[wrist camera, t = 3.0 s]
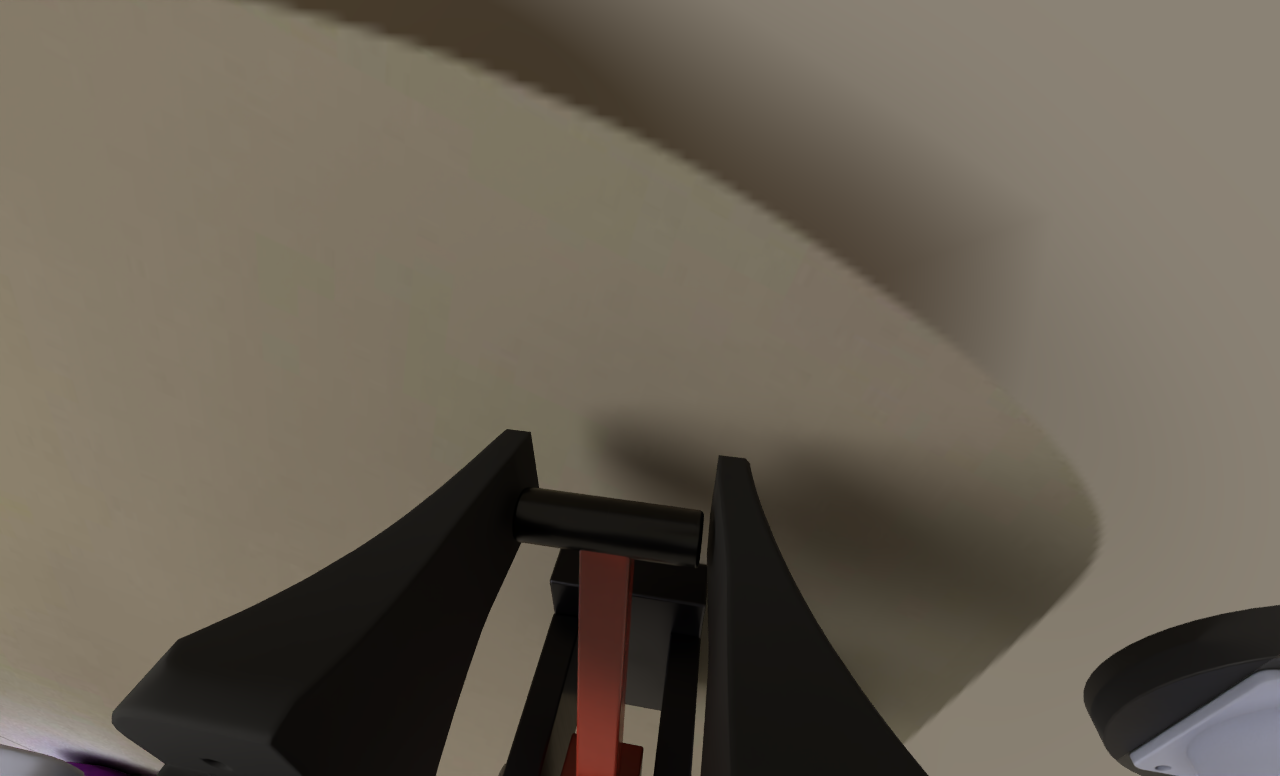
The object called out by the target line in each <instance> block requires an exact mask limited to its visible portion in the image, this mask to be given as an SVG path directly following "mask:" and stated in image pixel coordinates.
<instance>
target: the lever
mask: <svg viewBox="0 0 1280 776" xmlns="http://www.w3.org/2000/svg"><path fill="white" fill-rule="evenodd" d="M703 523H704V514H703V512H702V511H701V510H695V509H687V508H680V507H673V506H666V505H658V504H651V503H644V502H636V501H629V500H622V499H614V498H607V497H600V496H593V495H585V494H578V493H571V492H563V491H556V490H549V489H541V488H534V487H527V488H524V489H523V490H522V491H521V493H520V495H519V497H518V499H517V502H516V505H515V508H514V513H513V520H512V533H513V537H514V539H515V540H516V541H518V542H522V543H529V544H535V545H542V546H549V547H555V548H562V549H569V550H575V551H579V614H578V679H577V734H575V733H573V734H572V736H571V740H570V743H569V747H568V750H567V754H566V757H565V761H564V765H563V768H562V772H561V775H560V776H641V772H642V760H643V747H642V746H637V745H631V744H626V743H623V728H624V713H625V697H626V682H627V666H628V651H629V635H630V620H631V605H632V589H633V574H634V559H635V560H641V561H648V562H655V563H661V564H668V565H675V566H681V567H688V568H697V567H698V565H699V561H700V553H701V544H702V534H703Z"/></svg>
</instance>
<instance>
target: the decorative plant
mask: <svg viewBox="0 0 1280 776" xmlns="http://www.w3.org/2000/svg"><path fill="white" fill-rule="evenodd" d="M67 763H69V764H71V765H73V766H75V767H77V768H78V769H80V770H81V771H83V772H84V775H85V776H131V775H128V774H126V773H123V772H121V771H118V770H115V769H112V768H108V767H104V766H98V765H90V764H82V763H74V762H67Z"/></svg>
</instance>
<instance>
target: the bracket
mask: <svg viewBox="0 0 1280 776" xmlns="http://www.w3.org/2000/svg"><path fill="white" fill-rule="evenodd" d="M550 585H551V592H552V598H553V605H554V611H555V614H554V615H553V617H552V621H551V624H550V627H549V630H548V633H547V636H546V640H545V643H544V646H543V649H542V652H541V655H540V659H539V662H538V665H537V668H536V671H535V674H534V677H533V681H532V684H531V687H530V690H529V693H528V696H527V700H526V703H525V706H524V709H523V712H522V715H521V719H520V722H519V725H518V728H517V731H516V734H515V738H514V741H513V744H512V747H511V750H510V753H509V756H508V760H507V763H506V764H505V765H504V766H503V767H502V769H501V771H500V773H499V775H498V776H560V775H561V772H562V768H563V765H564V761H565V757H566V754H567V750H568V747H569V743H570V740H571V736H572V734H573V733H575V730H576V726H577V679H578V614H579V551H575V550H569V549H562V548H561V549H560V552H559V555H558V558H557V561H556V564H555V567H554V570H553V573H552V576H551V579H550ZM706 595H707V566H706V565H700V564H699V565H698V567H697V568H688V567H681V566H675V565H668V564H661V563H655V562H648V561H641V560H635V559H634V574H633V589H632V605H631V620H630V635H629V651H628V666H627V682H626V697H625V704H628V705H633V706H639V707H644V708H649V709H655V710H660V711H661V717H660V725H659V734H658V742H657V750H656V759H655V767H654V776H691V771H692V756H693V742H694V728H695V713H696V699H697V684H698V670H699V656H700V641H701V639H700V638H701V632H702V625H703V619H704V613H705V607H706Z"/></svg>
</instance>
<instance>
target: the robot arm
mask: <svg viewBox="0 0 1280 776" xmlns="http://www.w3.org/2000/svg"><path fill="white" fill-rule="evenodd" d="M527 487H534V488H539V484H538V477H537V471H536V464H535V457H534V451H533V444H532V437H531V432H526V431H518V430H510V429H506V430H505V431H504V432H503V433H502V434H500V435H499V436H498V437H497V438H496V439H495V440H494V441H493V442H491V443H490V444H489V445H488V446H487V447H486V448H485V449H484V450H483V451H482V452H480V453H479V454H478V455H477V456H476V457H475V458H474V459H473V460H472V461H470V462H469V463H468V464H467V465H466V466H465V467H464V468H463V469H461V470H460V471H459V472H458V473H457V474H456V475H454V476H453V477H452V478H451V479H450V480H449V481H447V482H446V483H445V484H444V485H443V486H442V487H440V488H439V489H438V490H437V491H436V492H434V493H433V494H432V495H431V496H429V497H428V498H427V499H425V500H424V501H423V502H422V503H420V504H419V505H418V506H417V507H415V508H414V509H413V510H411V511H410V512H409V513H408V514H406V515H405V516H404V517H402V518H401V519H400V520H398V521H397V522H395V523H394V524H393V525H391V526H390V527H389V528H387V529H386V530H384V531H383V532H381V533H380V534H378V535H377V536H375V537H374V538H372V539H371V540H369V541H368V542H366V543H365V544H363V545H362V546H360V547H359V548H357V549H356V550H354V551H352V552H351V553H349V554H347V555H346V556H344V557H342V558H340V559H339V560H337V561H335V562H334V563H332V564H330V565H329V566H327V567H325V568H324V569H322V570H320V571H319V572H317V573H315V574H313V575H312V576H310V577H308V578H306V579H304V580H303V581H301V582H299V583H297V584H295V585H293V586H291V587H289V588H288V589H286V590H284V591H282V592H280V593H278V594H276V595H274V596H272V597H270V598H268V599H266V600H264V601H262V602H260V603H258V604H256V605H254V606H252V607H250V608H248V609H245V610H243V611H241V612H239V613H237V614H235V615H232V616H230V617H228V618H226V619H223V620H221V621H219V622H217V623H215V624H212V625H210V626H208V627H206V628H203V629H201V630H199V631H197V632H195V633H192V634H190V635H188V636H185V637H183V638H180V639H178V640H177V641H176V642H175V644H174V645H173V646H172V647H171V648H170V649H169V650H168V651H167V652H166V653H165V654H164V655H163V657H162V658H161V659H160V660H159V661H158V662H157V663H156V664H155V665H154V667H153V668H152V669H151V670H150V671H149V672H148V673H147V674H146V675H145V677H144V678H143V679H142V680H141V681H140V682H139V683H138V684H137V685H136V686H135V688H134V689H133V690H132V691H131V692H130V693H129V694H128V695H127V696H126V698H125V699H124V700H123V701H122V702H121V703H120V704H119V705H118V706H117V708H116V709H115V710H114V711H113V713H112V724H113V725H114V726H115V728H116V729H117V730H118V731H119V732H121V733H122V734H123V735H124V736H126V737H127V738H128V739H130V740H131V741H133V742H134V743H136V744H137V745H139V746H140V747H142V748H143V749H144V750H146V751H147V752H149V753H150V754H152V755H153V756H155V757H156V758H158V759H159V760H160V761H162V762H163V763H165V765H164V766H163V767H162V769H161V770H160V771H159V773H158V774H157V775H156V776H436V773H437V769H438V766H439V762H440V759H441V755H442V752H443V749H444V745H445V742H446V739H447V735H448V732H449V729H450V725H451V722H452V719H453V716H454V712H455V709H456V706H457V703H458V700H459V697H460V694H461V691H462V688H463V685H464V682H465V678H466V675H467V672H468V669H469V666H470V663H471V661H472V658H473V655H474V652H475V649H476V646H477V643H478V640H479V638H480V635H481V632H482V629H483V627H484V624H485V622H486V619H487V617H488V614H489V612H490V610H491V607H492V605H493V603H494V601H495V599H496V597H497V594H498V592H499V590H500V588H501V586H502V583H503V581H504V579H505V577H506V575H507V573H508V570H509V568H510V566H511V564H512V562H513V560H514V557H515V555H516V553H517V551H518V548H519V546H520V544H521V542H518V541H516V540H515V539H514V537H513V533H512V520H513V513H514V508H515V505H516V502H517V499H518V497H519V495H520V493H521V491H522V490H523V489H524V488H527ZM707 586H708V639H709V655H708V679H707V694H706V709H705V723H704V737H703V751H702V765H701V776H928V775H927V773H926V772H925V771H924V770H923V769H922V767H921V766H920V765H919V764H918V763H917V761H916V760H915V759H914V758H913V756H912V755H911V754H910V753H909V752H908V750H907V749H906V748H905V746H904V745H903V744H902V743H901V741H900V740H899V739H898V737H897V736H896V735H895V734H894V732H893V731H892V730H891V729H890V727H889V726H888V725H887V723H886V722H885V721H884V719H883V718H882V717H881V715H880V714H879V713H878V711H877V710H876V709H875V707H874V706H873V705H872V703H871V702H870V701H869V699H868V698H867V696H866V695H865V694H864V692H863V691H862V690H861V688H860V687H859V685H858V684H857V682H856V681H855V679H854V678H853V676H852V675H851V673H850V672H849V670H848V669H847V667H846V666H845V665H844V663H843V662H842V660H841V659H840V657H839V656H838V654H837V653H836V651H835V650H834V648H833V647H832V645H831V644H830V642H829V641H828V639H827V637H826V636H825V634H824V632H823V631H822V629H821V627H820V626H819V624H818V623H817V621H816V619H815V618H814V616H813V614H812V612H811V611H810V609H809V607H808V605H807V604H806V602H805V600H804V598H803V596H802V595H801V593H800V591H799V589H798V587H797V585H796V583H795V581H794V579H793V577H792V575H791V573H790V571H789V569H788V567H787V565H786V563H785V561H784V559H783V557H782V555H781V552H780V550H779V548H778V546H777V543H776V541H775V539H774V536H773V534H772V531H771V529H770V526H769V524H768V522H767V519H766V517H765V514H764V511H763V509H762V506H761V503H760V500H759V497H758V494H757V491H756V487H755V484H754V480H753V477H752V472H751V468H750V463H749V462H748V461H747V460H746V459H745V458H737V457H729V456H720V455H719V458H718V465H717V472H716V479H715V485H714V492H713V499H712V506H711V513H710V524H709V536H708V548H707ZM1130 758H1131V760H1132V762H1133V764H1134V766H1136V767H1137V768H1139V769H1143V770H1148V771H1153V772H1159V773H1165V774H1170V775H1176V776H1280V670H1279V669H1266V670H1261V671H1258V672H1255V673H1253V674H1252V675H1250V676H1249V677H1247V678H1246V679H1244V680H1242V681H1241V682H1239V683H1238V684H1236V685H1235V686H1233V687H1232V688H1230V689H1229V690H1227V691H1226V692H1224V693H1222V694H1221V695H1219V696H1218V697H1216V698H1215V699H1213V700H1212V701H1210V702H1209V703H1207V704H1206V705H1204V706H1202V707H1201V708H1199V709H1198V710H1196V711H1195V712H1193V713H1192V714H1190V715H1189V716H1187V717H1186V718H1184V719H1182V720H1181V721H1179V722H1178V723H1176V724H1175V725H1173V726H1172V727H1170V728H1169V729H1167V730H1166V731H1164V732H1162V733H1161V734H1159V735H1158V736H1156V737H1155V738H1153V739H1152V740H1150V741H1149V742H1147V743H1146V744H1144V745H1142V746H1141V747H1139V748H1138V749H1136V750H1135V751H1133V752H1132V753H1131V754H1130ZM0 776H85V775H84V772H83V771H81V770H80V769H78V768H77V767H75V766H73V765H71V764H69V763H67V762H65V761H63V760H60V759H57V758H55V757H52V756H48V755H45V754H41V753H36V752H32V751H28V750H23V749H19V748H15V747H10V746H6V745H2V744H0Z"/></svg>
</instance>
